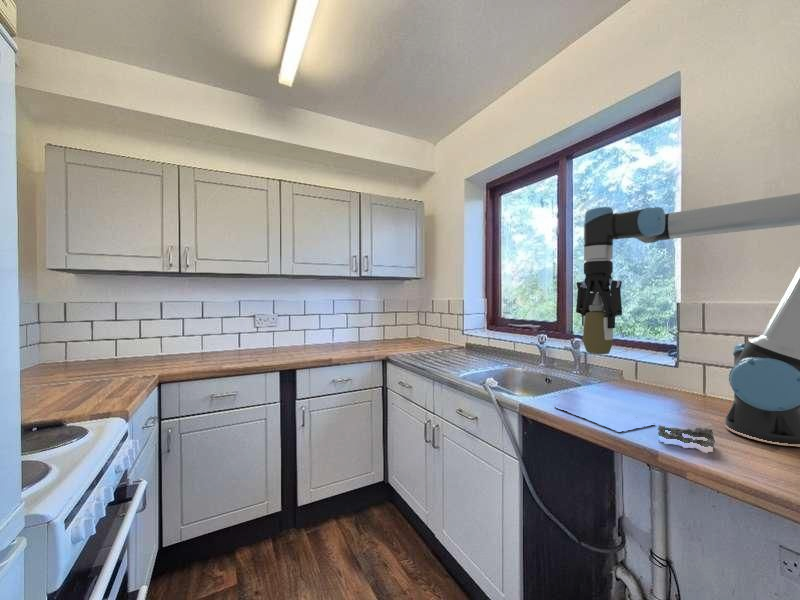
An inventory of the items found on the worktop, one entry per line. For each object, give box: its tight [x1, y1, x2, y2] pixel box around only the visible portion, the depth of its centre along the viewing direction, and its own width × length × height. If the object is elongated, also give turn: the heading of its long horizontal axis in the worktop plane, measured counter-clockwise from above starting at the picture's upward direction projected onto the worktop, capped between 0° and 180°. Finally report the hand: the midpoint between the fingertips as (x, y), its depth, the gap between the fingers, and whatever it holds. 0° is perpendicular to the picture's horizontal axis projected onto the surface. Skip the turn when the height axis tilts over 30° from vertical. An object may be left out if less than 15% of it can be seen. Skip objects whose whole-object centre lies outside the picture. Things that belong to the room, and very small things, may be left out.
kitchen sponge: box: [657, 424, 716, 448], centre depth 83 cm, size 11×8×4 cm
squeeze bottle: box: [582, 292, 614, 355], centre depth 103 cm, size 8×8×18 cm
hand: (597, 338), depth 103 cm, fingers closed on squeeze bottle, 6 cm apart
